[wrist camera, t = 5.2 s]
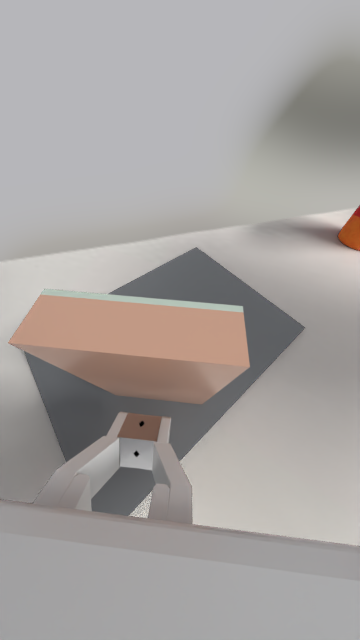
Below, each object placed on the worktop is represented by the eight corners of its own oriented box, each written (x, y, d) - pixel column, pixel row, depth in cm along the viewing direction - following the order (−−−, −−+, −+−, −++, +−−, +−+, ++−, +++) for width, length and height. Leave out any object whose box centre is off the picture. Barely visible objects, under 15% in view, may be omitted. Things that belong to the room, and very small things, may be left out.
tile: (201, 404, 16) (250, 366, 5) (115, 395, 16) (7, 343, 6) (202, 377, 17) (242, 306, 7) (122, 369, 17) (44, 288, 7)
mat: (196, 249, 28) (196, 247, 28) (302, 329, 21) (305, 327, 20) (23, 342, 19) (20, 340, 19) (101, 542, 12) (98, 547, 11)
